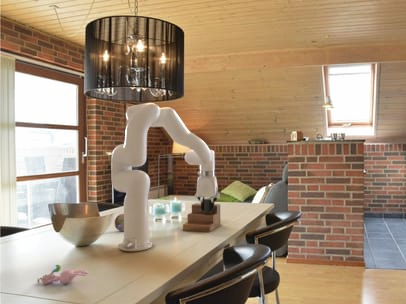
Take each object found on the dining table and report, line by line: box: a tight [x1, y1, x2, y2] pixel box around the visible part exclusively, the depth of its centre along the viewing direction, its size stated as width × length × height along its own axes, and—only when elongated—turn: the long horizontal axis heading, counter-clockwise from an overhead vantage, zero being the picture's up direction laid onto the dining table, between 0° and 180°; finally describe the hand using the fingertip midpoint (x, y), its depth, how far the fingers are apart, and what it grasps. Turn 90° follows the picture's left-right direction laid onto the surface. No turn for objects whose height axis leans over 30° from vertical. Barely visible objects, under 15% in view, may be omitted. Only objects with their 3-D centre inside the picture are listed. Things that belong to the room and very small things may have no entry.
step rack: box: [182, 202, 222, 233], centre depth 177 cm, size 16×14×11 cm
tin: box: [114, 213, 124, 232], centre depth 175 cm, size 15×3×8 cm, turn 143°
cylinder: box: [204, 198, 212, 214], centre depth 176 cm, size 4×4×7 cm
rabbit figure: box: [36, 264, 89, 285], centre depth 104 cm, size 6×6×15 cm
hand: (207, 209), depth 176 cm, fingers closed on cylinder, 4 cm apart
